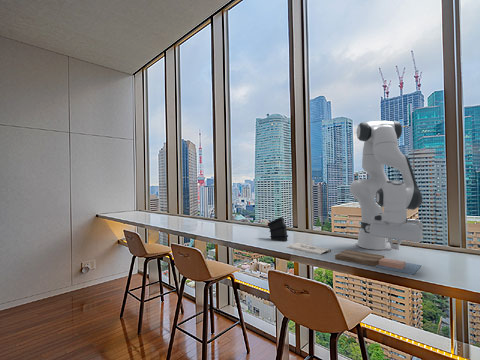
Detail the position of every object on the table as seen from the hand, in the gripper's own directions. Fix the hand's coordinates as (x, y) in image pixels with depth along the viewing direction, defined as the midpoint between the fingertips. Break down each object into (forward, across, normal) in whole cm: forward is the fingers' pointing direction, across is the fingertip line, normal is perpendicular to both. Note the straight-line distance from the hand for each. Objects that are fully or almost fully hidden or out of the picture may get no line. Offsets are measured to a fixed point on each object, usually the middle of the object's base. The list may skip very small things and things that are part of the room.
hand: (394, 249), depth 118 cm
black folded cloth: (+10, +71, -10) cm, 73 cm away
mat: (+8, -2, -1) cm, 8 cm away
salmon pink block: (+7, +1, +1) cm, 7 cm away
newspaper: (+10, +43, -2) cm, 44 cm away
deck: (+8, +15, 0) cm, 17 cm away
